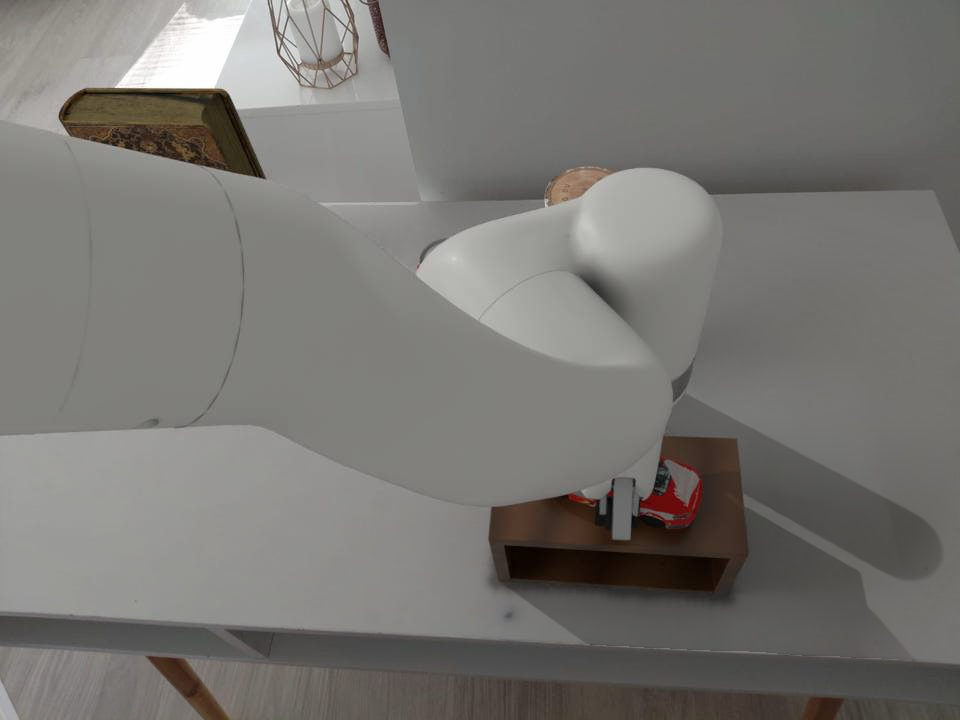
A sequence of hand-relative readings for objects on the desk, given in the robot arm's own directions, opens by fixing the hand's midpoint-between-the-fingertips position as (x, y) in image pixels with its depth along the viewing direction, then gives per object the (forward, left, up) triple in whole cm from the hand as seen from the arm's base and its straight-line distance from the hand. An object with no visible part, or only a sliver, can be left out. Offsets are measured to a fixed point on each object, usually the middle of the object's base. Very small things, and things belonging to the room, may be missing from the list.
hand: (615, 482), depth 61 cm
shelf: (0, 0, -11) cm, 11 cm away
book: (-2, +55, -12) cm, 56 cm away
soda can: (+9, +27, -12) cm, 31 cm away
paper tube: (+13, +13, -12) cm, 22 cm away
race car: (0, 0, -1) cm, 1 cm away
